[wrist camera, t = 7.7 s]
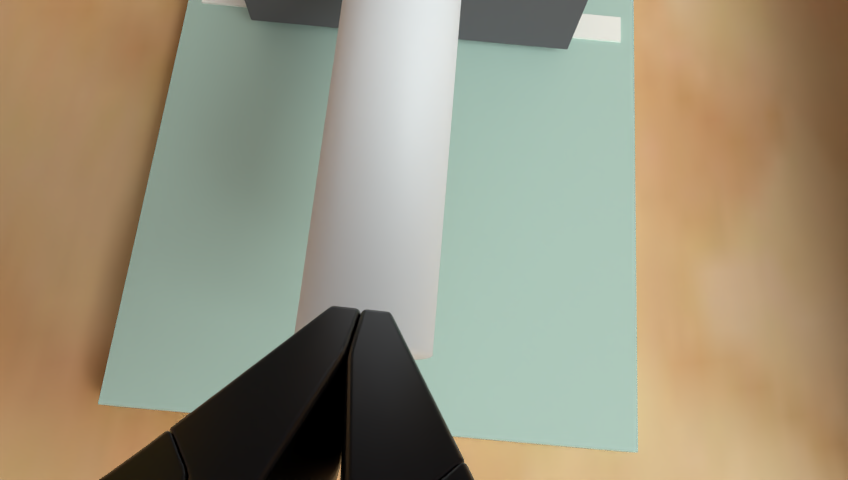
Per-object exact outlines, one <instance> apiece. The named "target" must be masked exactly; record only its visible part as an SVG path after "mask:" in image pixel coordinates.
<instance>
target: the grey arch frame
mask: <svg viewBox="0 0 848 480" xmlns="http://www.w3.org/2000/svg"><path fill="white" fill-rule="evenodd" d="M244 1H245V3H246V6H247V9H248V12H249V15H250V18H251V20H257V21H268V22H278V23H289V24H300V25H310V26H321V27H332V28H338V27H339V20H340V13H341V6H342V0H244ZM587 1H588V0H461V10H460V22H459V35H458V39H460V40H471V41H482V42H492V43H503V44H514V45H525V46H535V47H546V48H557V49H568V47H569V44H570V42H571V40H572V37H573V35H574V32H575V30H576V28H577V25H578V23H579V20H580V18H581V16H582V13H583V11H584V9H585V6H586V4H587Z"/></svg>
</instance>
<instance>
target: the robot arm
mask: <svg viewBox="0 0 848 480" xmlns="http://www.w3.org/2000/svg"><path fill="white" fill-rule="evenodd" d="M340 464H341V478H340V480H474V478H473V476H472V474H471V472H470V470H469V468H468V466H467V465H466V464H465V463H464V459H463V457H462V455H461V453H460V451H459V449H458V447H457V445H456V443H455V441H454V439H453V437H452V435H451V433H450V431H449V429H448V426H447V424H446V422H445V420H444V418H443V416H442V414H441V412H440V410H439V408H438V406H437V404H436V402H435V400H434V398H433V396H432V394H431V392H430V390H429V388H428V386H427V384H426V382H425V380H424V378H423V376H422V374H421V372H420V370H419V368H418V366H417V364H416V362H415V360H414V358H413V356H412V354H411V352H410V350H409V348H408V346H407V344H406V342H405V340H404V338H403V336H402V334H401V332H400V330H399V328H398V326H397V323H396V321H395V319H394V317H393V316H392V314H391V313H390V312H387V311H378V310H369V309H366V310H363V311H362V312H361V313H360V311H359V310H358V309H356V308H350V307H340V306H331V307H329V308H328V309H326V310H325V311H324V312H323V313H321V314H320V315H319V316H317V317H316V318H315V319H313V320H312V321H311V322H309V323H308V324H307V325H305V326H304V327H303V328H301V329H300V330H299V331H297V332H296V333H295V334H294V335H292V336H291V337H290V338H288V339H287V340H286V341H284V342H283V343H282V344H280V345H279V346H278V347H276V348H275V349H274V350H272V351H271V352H270V353H269V354H267V355H266V356H265V357H263V358H262V359H261V360H259V361H258V362H257V363H255V364H254V365H253V366H251V367H250V368H249V369H247V370H246V371H245V372H244V373H242V374H241V375H240V376H238V377H237V378H236V379H234V380H233V381H232V382H230V383H229V384H228V385H226V386H225V387H224V388H222V389H221V390H220V391H219V392H217V393H216V394H215V395H213V396H212V397H211V398H209V399H208V400H207V401H205V402H204V403H203V404H201V405H200V406H199V407H197V408H196V409H195V410H194V411H192V412H191V413H190V414H188V415H187V416H186V417H184V418H183V419H182V420H180V421H179V422H178V423H176V424H175V425H174V426H172V427H171V429H170V432H169V431H166V432H164V433H163V434H162V435H160V436H159V437H158V438H156V439H155V440H154V441H152V442H151V443H150V444H148V445H147V446H146V447H144V448H143V449H142V450H140V451H139V452H138V453H136V454H135V455H133V456H132V457H131V458H129V459H128V460H126V461H125V462H124V463H122V464H121V465H119V466H118V467H117V468H115V469H114V470H113V471H111V472H110V473H108V474H107V475H105V476H104V477H102V478H101V479H99V480H336V479H337V476H338V472H339V469H340Z"/></svg>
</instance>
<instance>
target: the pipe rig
mask: <svg viewBox="0 0 848 480" xmlns="http://www.w3.org/2000/svg"><path fill="white" fill-rule="evenodd" d="M460 10H461V0H342V6H341V13H340V20H339V27H338V28H332V27H321V26H310V25H300V24H289V23H278V22H268V21H257V20H251V18H250V15H249V12H248V9H247V6H246V3H245V1H244V0H189V1H188V5H187V10H186V14H185V19H184V23H183V28H182V32H181V36H180V41H179V45H178V50H177V54H176V59H175V63H174V68H173V72H172V76H171V81H170V85H169V90H168V94H167V99H166V103H165V108H164V112H163V117H162V121H161V125H160V130H159V134H158V139H157V143H156V148H155V152H154V157H153V161H152V165H151V170H150V174H149V179H148V183H147V188H146V192H145V197H144V201H143V206H142V210H141V214H140V219H139V223H138V228H137V232H136V237H135V241H134V246H133V250H132V254H131V259H130V263H129V268H128V272H127V277H126V281H125V286H124V290H123V295H122V299H121V303H120V308H119V312H118V317H117V321H116V326H115V330H114V335H113V339H112V344H111V348H110V352H109V357H108V361H107V366H106V370H105V375H104V379H103V384H102V388H101V392H100V397H99V401H98V404H101V405H108V406H117V407H129V408H140V409H151V410H162V411H173V412H184V413H191V412H192V411H194V410H195V409H196V408H197V407H199V406H200V405H201V404H203V403H204V402H205V401H207V400H208V399H209V398H211V397H212V396H213V395H215V394H216V393H217V392H219V391H220V390H221V389H222V388H224V387H225V386H226V385H228V384H229V383H230V382H232V381H233V380H234V379H236V378H237V377H238V376H240V375H241V374H242V373H244V372H245V371H246V370H247V369H249V368H250V367H251V366H253V365H254V364H255V363H257V362H258V361H259V360H261V359H262V358H263V357H265V356H266V355H267V354H269V353H270V352H271V351H272V350H274V349H275V348H276V347H278V346H279V345H280V344H282V343H283V342H284V341H286V340H287V339H288V338H290V337H291V336H292V335H294V334H295V333H296V332H297V331H299V330H300V329H301V328H303V327H304V326H305V325H307V324H308V323H309V322H311V321H312V320H313V319H315V318H316V317H317V316H319V315H320V314H321V313H323V312H324V311H325V310H326V309H328V308H329V307H331V306H340V307H350V308H356V309H358V310H359V311H360V313H361V312H362V311H363V310H366V309H369V310H378V311H387V312H390V313H391V314H392V316H393V317H394V319H395V321H396V323H397V326H398V328H399V330H400V332H401V334H402V336H403V338H404V340H405V342H406V344H407V346H408V348H409V350H410V352H411V354H412V356H413V358H414V360H415V362H416V364H417V366H418V368H419V370H420V372H421V374H422V376H423V378H424V380H425V382H426V384H427V386H428V388H429V390H430V392H431V394H432V396H433V398H434V400H435V402H436V404H437V406H438V408H439V410H440V412H441V414H442V416H443V418H444V420H445V422H446V424H447V426H448V429H449V431H450V433H451V435H452V436H453V437H464V438H475V439H486V440H497V441H508V442H520V443H531V444H542V445H553V446H564V447H575V448H587V449H598V450H609V451H620V452H638V420H637V317H636V214H635V111H634V8H633V0H588V1H587V4H586V6H585V9H584V11H583V13H582V16H581V18H580V20H579V23H578V25H577V28H576V30H575V32H574V35H573V37H572V40H571V42H570V44H569V47H568V49H557V48H546V47H535V46H525V45H514V44H503V43H492V42H482V41H471V40H460V39H458V35H459V22H460Z"/></svg>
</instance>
